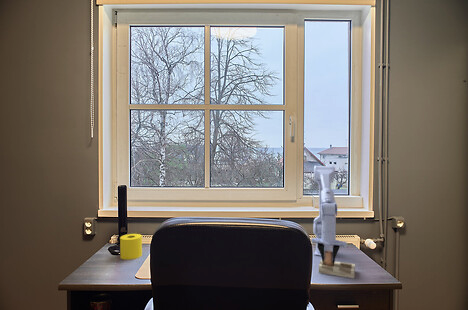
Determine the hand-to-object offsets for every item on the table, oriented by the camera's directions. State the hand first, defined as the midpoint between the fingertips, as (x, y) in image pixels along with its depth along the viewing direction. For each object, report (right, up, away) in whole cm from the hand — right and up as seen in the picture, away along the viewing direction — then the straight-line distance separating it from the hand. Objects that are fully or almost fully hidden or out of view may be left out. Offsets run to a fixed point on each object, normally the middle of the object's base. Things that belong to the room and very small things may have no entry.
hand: (328, 261), depth 129 cm
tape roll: (-91, -4, +17) cm, 93 cm away
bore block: (+3, -4, -1) cm, 5 cm away
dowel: (0, -3, 0) cm, 3 cm away
